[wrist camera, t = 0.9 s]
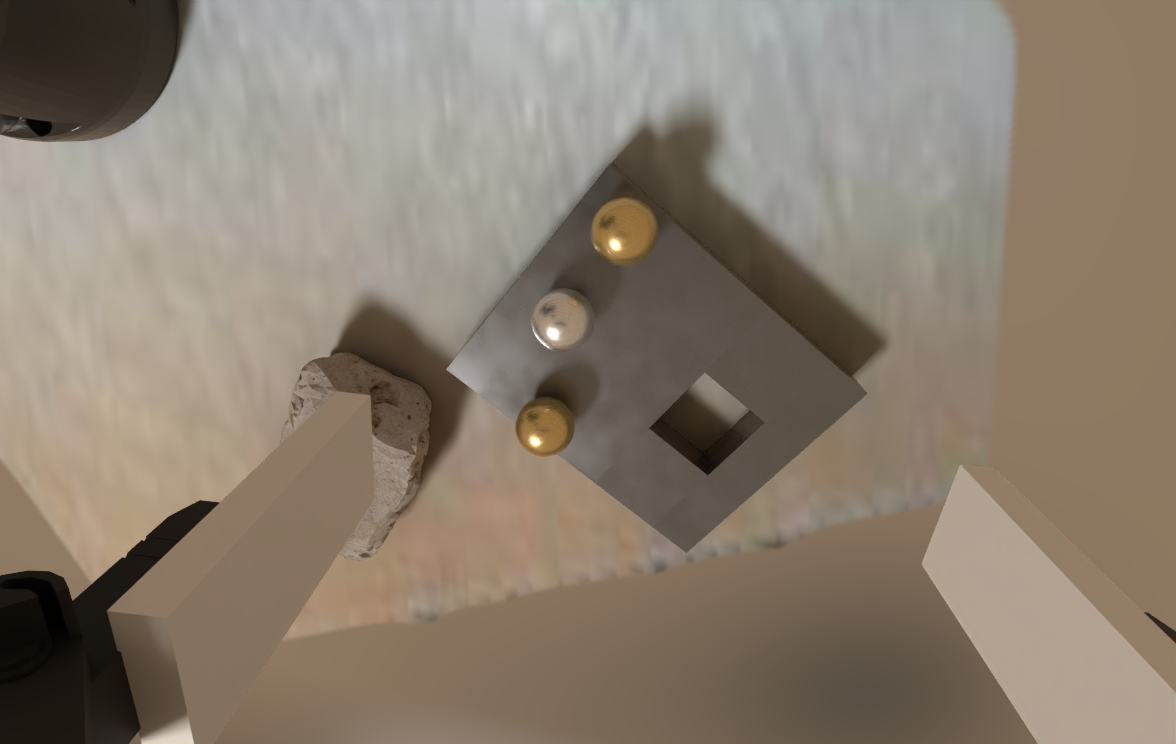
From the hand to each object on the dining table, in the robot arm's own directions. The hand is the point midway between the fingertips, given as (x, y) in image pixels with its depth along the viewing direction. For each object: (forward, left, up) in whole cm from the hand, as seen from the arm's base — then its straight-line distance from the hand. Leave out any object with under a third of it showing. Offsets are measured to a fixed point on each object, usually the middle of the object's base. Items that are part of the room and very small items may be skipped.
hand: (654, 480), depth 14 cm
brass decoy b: (+1, -9, -18) cm, 20 cm away
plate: (+4, -4, -22) cm, 22 cm away
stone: (-7, -20, -22) cm, 31 cm away
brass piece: (-3, +1, -18) cm, 18 cm away
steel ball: (-2, -4, -18) cm, 18 cm away
